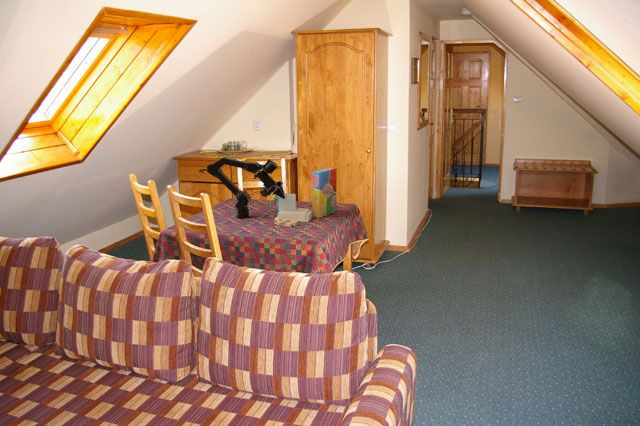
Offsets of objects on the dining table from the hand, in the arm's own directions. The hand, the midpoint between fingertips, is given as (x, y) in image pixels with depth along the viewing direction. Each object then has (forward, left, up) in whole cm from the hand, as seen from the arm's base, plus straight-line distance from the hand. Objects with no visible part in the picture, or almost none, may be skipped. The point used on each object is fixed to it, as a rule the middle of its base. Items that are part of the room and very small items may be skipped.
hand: (285, 198), depth 335 cm
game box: (+25, -3, -12) cm, 28 cm away
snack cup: (+7, +17, -12) cm, 22 cm away
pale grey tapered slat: (+1, -1, -2) cm, 3 cm away
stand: (-6, -13, -12) cm, 19 cm away
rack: (+4, -3, -12) cm, 13 cm away
